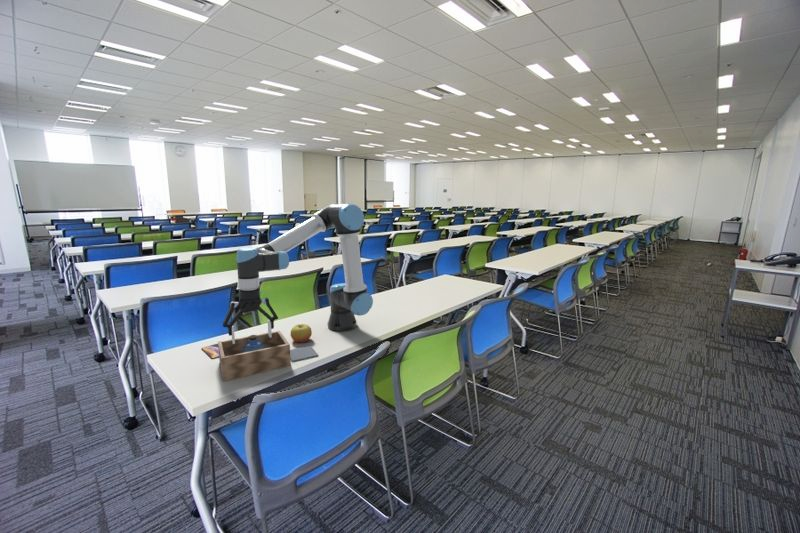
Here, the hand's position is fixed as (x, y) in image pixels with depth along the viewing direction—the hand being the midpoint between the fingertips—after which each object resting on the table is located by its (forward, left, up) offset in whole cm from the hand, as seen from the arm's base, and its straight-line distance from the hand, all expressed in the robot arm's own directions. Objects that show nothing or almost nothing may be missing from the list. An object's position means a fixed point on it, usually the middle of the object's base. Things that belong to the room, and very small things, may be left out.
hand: (252, 339), depth 137 cm
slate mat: (-19, 0, -11) cm, 22 cm away
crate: (0, 0, -11) cm, 11 cm away
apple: (-23, -15, -11) cm, 30 cm away
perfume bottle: (0, 0, -11) cm, 11 cm away
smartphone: (+13, -22, -11) cm, 27 cm away
